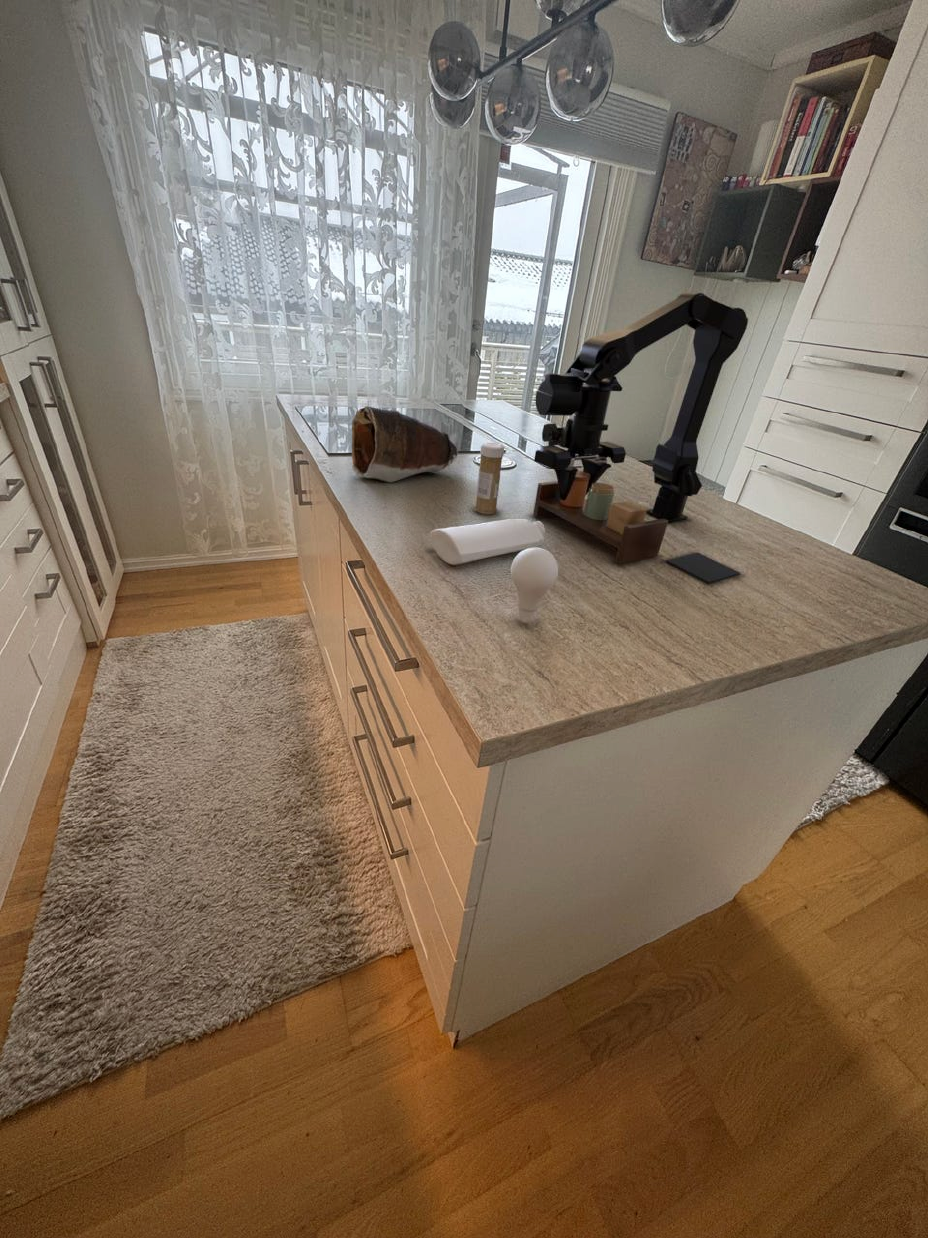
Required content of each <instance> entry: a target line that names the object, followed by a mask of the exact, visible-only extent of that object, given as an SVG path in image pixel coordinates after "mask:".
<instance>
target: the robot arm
mask: <svg viewBox="0 0 928 1238" xmlns="http://www.w3.org/2000/svg"><path fill="white" fill-rule="evenodd" d="M748 323H749V318H748V317H747V313H746V311H745V310H744V309H743V308H741V307H732V306H729V305H726V304H723V303H722V302H719V301H716V300H714V299H712V298H711V297H709V296H707V295H706V294H705V293H702V292H690V291H689V292H687V291H686V292H682V293H681V294H679V295H678V296H677V297H676V298H675V299H673V300H671V301H670V302H668V303H666V304H664V305H663V306H661V307H660V308H657V309H656V310H654V311H652V312H651V313H649V314H647V315H645V316H643V317H642V318H641V319H639V320H637V321H635V322H633V323H632V324H630V325H628V326H626V327H625V328H621V329H619V330H618V329H617V330H614V331H608V332H604V333H602V334H599V335H595V336H592V337H590V338H588V339H587V340H586V341H584V343H583V344H582V345H581V350H580V352H579V354H578V355H577V356H576V357H575V358H574V360H573V361H572V362H571V363H570V365H568V367H567V369H566V370H565V371H564V373H561V374H560V373H559V374H558V373H555V372H550V371H549V372H545V375H544V379H543V380H542V381H541V383H540V384H539V386H538V389H537V390H536V391H535V392H536V393H535V408H536V411H537V413H538V414H539V415H540V416H561V417H562V416H563V417H564V416H565V417H567V416H568V417H571V416H573V417H572V418H568V419H567V420H566V422H565V426H562V427H558V426H557V424H556V423H555V422H554V423H552V422H551V423H546V424H543V428H542V432H541V437H542V441H543V442H544V443H545V442H546V443H548V445H540V446H539V447H538V448H537V449H536V450H535V453H534V459H533V461H534V462H535V463H538V464H540V465H542V466H545V467H547V468H549V469H552V470H554V473H555V476H556V481H558V487H559V493H560V498H561V499H562V500H566V498H567V496H568V494H569V491H570V489H571V486H572V484H573V481H574V479H575V476H576V474H577V471H578V470H579V469H578V468H576V467H574V466H575V461H581V464H582V468H583V469H582V471H584V472H587V473H588V474H590V479H589V482H588V486H587V491H586V495H585V497H586V496H588V493H589V489H590V487H592V484H593V483H598V480H600V478H601V477H602V476H603V475H604V474H605V473H606V471H607V470H608V469H610V468H612V464H621V463H622V464H623V463H624V462H625V459H626V456H627V452H626V449H625V447H624V446H622V445H619V444H617V443H613V442H610V441H607V440H606V441H601V438H602V434H603V432H604V431H605V432H606V431H608V429H609V424H607V423H605V420H606V415H607V411H608V407H609V403H610V398H611V393H612V392H622V391H623V386H622V385H621V384H620V382H619V381H618V379H617V376H616V375H618V374H619V373H620V372H622V371H624V369H625V368H626V367H627V366H629V365H631V363H632V362H633V359H634V358H635V356H636V355H638V354H639V353H640V352H641V351H643V350H645V349H646V348H648V347H650V346H652V345H653V344H655V343H656V342H658V341H660V340H661V339H663V338H665V337H667V336H668V335H671V334H672V333H674V332H675V331H677V330H679V329H681V328H683V327H684V326H687V327H689V328H690V329H692V330H694V334H693V335H694V336H693V340H692V344H693V351H694V357H695V359H694V363H693V365H692V369H691V373H690V375H689V376H690V377H689V378H688V382H687V386H686V389H685V392H684V395H683V398H682V401H681V403H680V404H681V405H680V408H679V411H678V414H677V417H676V421H675V423H674V427H673V430H672V433H671V435H670V437H669V438H668V439H667V441H665V442H664V443H663V444H661V443H658V444H657V446H656V448H655V453H654V456H653V458H652V460H651V464H652V468H651V469H652V470H651V471H652V472H653V481H654V482H653V483H655V484H657V485H659V486H661V487H659V490H658V493H657V495H656V497H655V501H654V504H653V508H650V509H647V511H646V514H649V515H651V516H654V517H656V518H657V519H663V518H664V519H666V520H668V523H674V522H678V521H683V520H687V519H688V516H687V515H685V514H683V513H684V509H685V507H686V504H687V500H688V497H693V496H697V495H698V493H699V492H700V491H701V489H702V487H703V484H702V482H701V480H700V478H699V476H698V474H697V472H696V471H697V467H698V462H699V458H700V457H699V452H698V445H697V441H698V438H699V435H700V431H701V428H702V426H703V423H704V420H705V417H706V414H707V411H708V409H709V405H710V402H711V399H712V396H713V395H714V391H715V388H716V385H717V382H718V379H719V376H720V374H721V370H722V368H723V365H724V363H725V362H726V361H727V360H728V359H729V358H730V357H731V356H732V355H733V354H734V353H735V352H736V351H737V349H738V347H739V345H740V343H741V341H742V339H743V337H744V335H745V332H746V330H747V329H748V328H747V327H748ZM608 458H609V459H610V462H611V463H612V464H610V463H608Z"/></svg>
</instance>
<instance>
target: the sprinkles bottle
mask: <svg viewBox="0 0 928 1238" xmlns="http://www.w3.org/2000/svg"><path fill="white" fill-rule="evenodd" d="M479 450H480V451H479V454H480V459H479V460H480V461H479V469H478V476H477V487H476V498H475V499H476V500H475V507H474V510H475V512H477V513H478V514H481V515H494V514H495V513H496V512H497V505H498V497H499V491H500V480H501V470H502V462H503V457H504V453H505V446H504V445H503V444H500V443H496V442H483V443H482V444H481V445H480V449H479Z"/></svg>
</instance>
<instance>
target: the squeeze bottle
mask: <svg viewBox="0 0 928 1238" xmlns="http://www.w3.org/2000/svg"><path fill="white" fill-rule="evenodd" d="M545 532H546V531H545V525H544V524H543V523H542V521H540V520H536V521H531V520H528V519H527V518H507V519H501V520H495V521H494V520H493V521H487V522H483V523H482V522H480V523H477V524H476V523H475V524H467V525H460V526H451V527H446V528H436V529H433V530H432V531H430V542H431V543H430V544H431V545H432V547H433V549H434V551H435V552H436V554H437V556H439V558H441V560H443V561H444V562H445V563H446V564H448V565H453V566H455V565H456V566H457V565H461V564H467V563H470V562H476V561H479V560H483V559H488V558H492V557H496V556H501V555H506V554H511V553H517V552H522V551H523V550H525V549H528V548H533V547H538V548H539V546H543V545H544V541H545V537H544V536H545Z"/></svg>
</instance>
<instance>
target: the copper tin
mask: <svg viewBox="0 0 928 1238" xmlns="http://www.w3.org/2000/svg"><path fill="white" fill-rule="evenodd" d="M589 479H590V474H588V473H587V472H584V471H583V470H579V469H578V471H577V474H576V476H575V479H574V481H573V484H572V486H571V489H570V491H569V494H568V496H567V498H566V500H562V499H561V498H560V503H561V504H563V505H565V506H569V507H582V506H583V504H584V500H585V499H586V496H587V495H586V491H587V486H588V482H589ZM585 495H586V496H585Z"/></svg>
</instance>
